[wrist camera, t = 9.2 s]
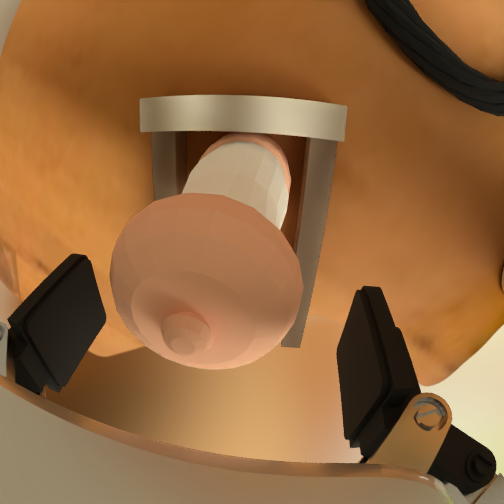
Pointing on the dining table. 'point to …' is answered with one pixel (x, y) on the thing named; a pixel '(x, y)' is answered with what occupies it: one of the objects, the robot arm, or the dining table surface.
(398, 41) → the cable lock
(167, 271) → the pepper shaker
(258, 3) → the dining table surface
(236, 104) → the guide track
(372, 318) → the robot arm
